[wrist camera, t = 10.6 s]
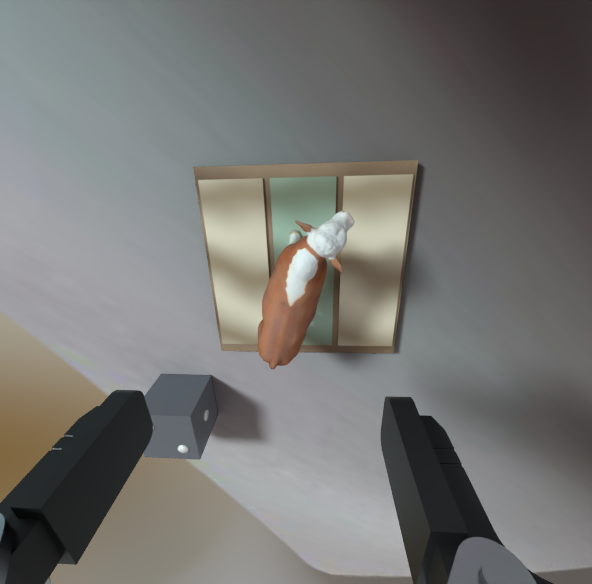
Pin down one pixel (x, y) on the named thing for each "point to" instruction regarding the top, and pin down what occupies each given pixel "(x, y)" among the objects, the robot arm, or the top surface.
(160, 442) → the die
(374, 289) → the paneled room divider
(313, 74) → the top surface
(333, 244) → the bull figurine
